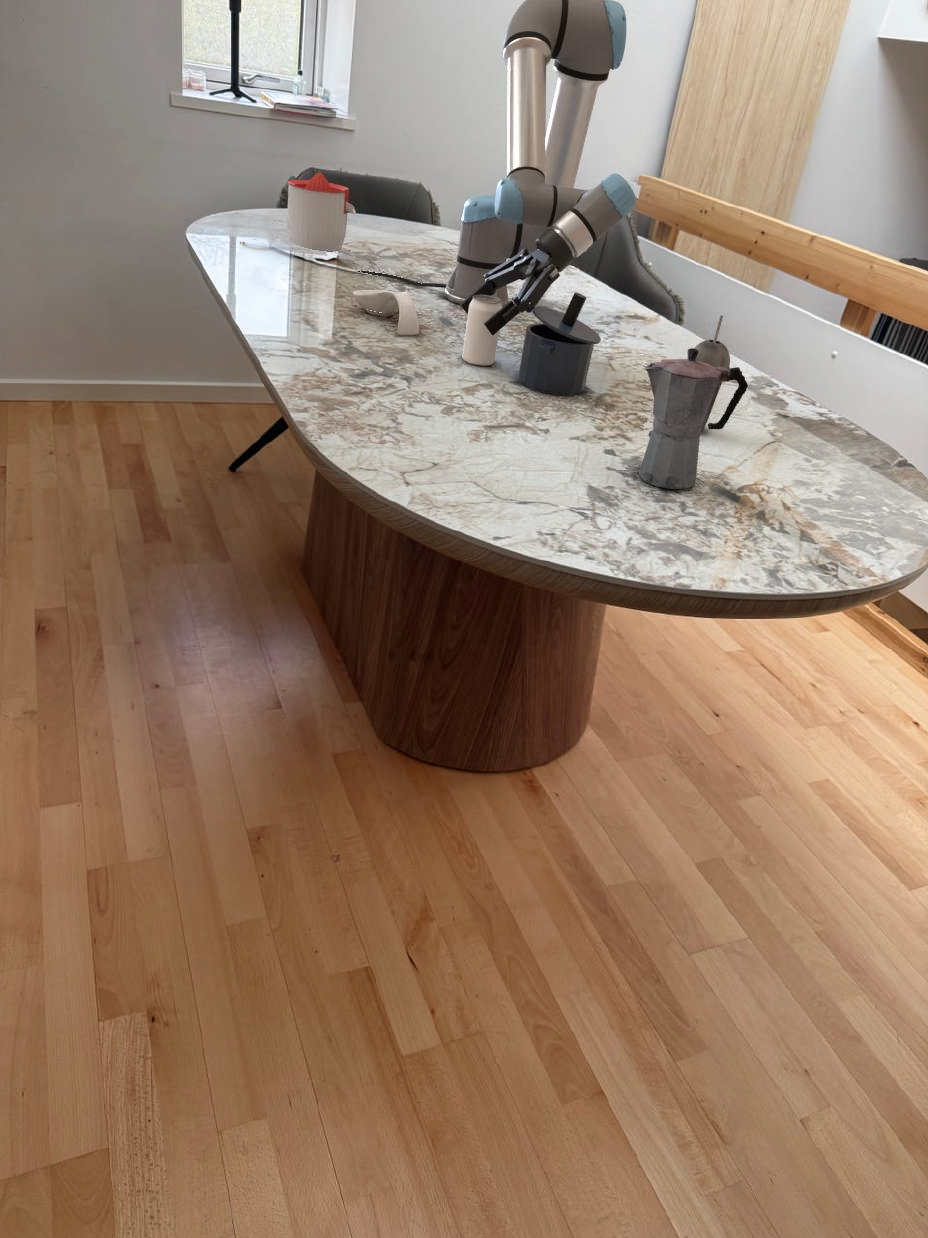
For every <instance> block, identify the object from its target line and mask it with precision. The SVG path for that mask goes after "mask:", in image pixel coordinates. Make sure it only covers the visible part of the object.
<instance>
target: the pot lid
mask: <svg viewBox="0 0 928 1238" xmlns="http://www.w3.org/2000/svg"><path fill="white" fill-rule="evenodd" d="M570 299H571V300H570V302H569V304H568V306H567V308H566V310H565V312H562V311H558V310H556V309H554V308H549V307H546V306H540V305H539V306H537V305H536V306H535V307H534V309H533V310H532V314H533V315H534V317H535V318H536V319H537V320H539V321H540V323H541V324H545V325H546V326H547V327H549V328H550V329H552V330H553V331H555V332H557V333H559V334H561V335H563V336H565V337H567V338H570V339H572V340H575V341H579V342H584V343H588V344H594V345H599V343H600V342H601V340H602V339H601V338H602V337H601V336H600V334H599V333H598V332H597V331H595V329H593V328H591V327H590V326H588V325H587V324H586V323H584V322H582V321H580V320H579V319H578V318H579V316H580V314H581V311H582V309H583V307H584V305H585V303H586V301H587V299H588V298H587V296H586V295H584V294H582V293H580V292H576V291H575V292H574V293H573V295H572V296H571V298H570Z"/></svg>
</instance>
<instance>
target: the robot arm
mask: <svg viewBox="0 0 928 1238" xmlns="http://www.w3.org/2000/svg"><path fill="white" fill-rule="evenodd" d="M626 44H627V16H626V11H625V8H624V6H623V5H622V4H621V3H620V2H618V1H615V0H525V1H523V2H522V3H521V5H520V6H519V7H518V8H517V9H516V10H515V12H514V14H513V15H512V17H511V19H510V20H509V23H508V25H507V27H506V31H505V35H504V39H503V53H502V54H503V56H502V57H503V62H504V65H505V66H506V67H507V71H508V72H507V129H506V130H507V134H506V135H507V142H506V146H507V147H506V178H502V179H500V180H499V181H498V183H497V186H496V189H495V195H478V196H472V197H469V198H468V199H467V200H466V201H465V203H464V205H463V210H462V215H461V218H460V222H461V223H460V231H459V239H458V247H457V255H456V263H455V266H454V268H453V271H452V272H451V274H450V276H449V279H448V282H447V283H437V282H420V281H416V282H415V280H412V279H410V278H406V277H403V278H401V277H402V276H400V277H397V276H398V275H396V276H393V275H394V274H391V275H388V274H389V273H386V274H382V273H383V272H380V273H375V272H376V271H373V272H369V271H370V270H367V271H361V272H363V273H368V274H372V275H371V276H375V275H378V276H377V277H381V276H383V278H386V279H387V278H388V279H393V280H398V281H401V282H404V283H406V284H409V285H413V286H418V287H423V288H441V289H442V288H443V289H445V290H444V297H445V299H447V300H448V301H450V302H452V303H455V304H458V305H460V307H461V308H462V310H463V311H464V312H465V313H466V315H467V316H468V311H469V305H470V303H471V301H472V299H473V296H474V295H488V296H493V297H496V298H499V299H501V300H502V302H501V305H502V308H501V309H500V310H499V311H498V312H497V313H495V314H494V315H493V316H492V317H491V318H490V319H489V320H487V321H486V322H485V323H484V325H485V326H486V328H487V329H488V330H489V332H490V333H491V335H494V334H496V333H497V332H498V331H499V330H502V329H503V328H504V327H505V326H506V325H508V323H509V322H510V321H512V320H513V319H515V317H516V316H518V315H519V314H520V313H524V312H526V313H527V314H530V313H531V312H533V309H534V307H537V305H538V304H539V302H540V301H541V299H542V298H543V297H544V296H545V294H546V293H547V291H548V290H549V288H551V285H553V284H554V282H555V281H557V280H558V279H559V278H560V276H561V274H560V273H562V272H563V271H564V270H565V269H566V268H568V267H569V266H570V265H571V264H572V263H573V262H574V259H575V258H579V257H580V256H581V255H582V254H583V253H586V252H588V249H589V248H590V247H591V246H592V245H593V244H595V243H596V242H597V241H598V240H599V239H600V238H601V237H603V236H604V235H605V234H606V233H607V232H608V231H610V230H611V229H612V228H613V227H615V225H617V224H618V223H619V222H620V221H621V220H622V219H626V217H627V215H628V214H629V213H630V212H631V211H633V209H634V208H635V207H636V205H637V197H636V194H635V192H634V190H633V188H632V186H631V185H630V183H629V181H627V180H626V179H625V178H624V177H623V176H622V175H621V174H619V173H616V172H614V173H611V174H609V175H608V176H607V177H605V178H604V179H602V180H601V181H600V183H599V184H597V185H596V186H595V187H593V188H590V189H581V188H575V183H576V180H577V175H578V171H579V166H580V163H581V160H582V155H583V150H584V146H585V143H586V138H587V134H588V131H589V126H590V122H591V118H592V113H593V110H594V105H595V101H596V97H597V93H598V89H599V87H600V86H601V85H603V84H604V83H606V82H607V81H608V79H609V75H610V72H611V70H612V71H614V70H617V69H619V67H620V66H621V65H622V61H623V59H624V54H625V49H626ZM551 60H554V62H553V63H554V64H553V69H554V71H555V73H556V75H557V77H558V78H557V83H556V89H555V92H554V96H553V97H554V98H553V102H552V107H551V112H550V116H549V117H550V118H549V121H548V125H547V121H546V120H547V66H548V65H549V64H550V62H551ZM546 129H547V130H546ZM358 272H360V271H358ZM363 273H362V274H363ZM368 274H367V275H368ZM405 278H406V279H405ZM519 280H520V281H524V282H523V283H522V285H521V287H520V289H519V291H518V293H517V294H516V296H513V297H511V300H509V293H508V287H507V285H510V284H512V283H514V282H517V281H519ZM418 282H420V283H418ZM421 283H422V284H421ZM508 300H509V301H508ZM499 332H500V331H499Z"/></svg>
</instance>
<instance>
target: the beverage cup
mask: <svg viewBox="0 0 928 1238" xmlns="http://www.w3.org/2000/svg"><path fill="white" fill-rule="evenodd" d="M723 318H724V315H722V314H720V315H719V319H718V322H717V326H716V329H715V332H714V337H713V339H705V340H703V341H701V342H700V343H698V344H696V345H695V347H694V349H697V350H698V351H699V352H698V355H697V357H696V361H699V362H703V363H706V364H709V365H711V366H713V367H715V368H717V367H724V368H728V369H729V368H731V367H730V366H731V354H730V352H729V349H728V347H727V346H726V345H725V344H724V343H723V342H721V341H720V340H718V338H719V337H718V336H719V334H720V330H721V326H722V324H723V323H722V322H723ZM723 382H724V381H720V382H719V383H718V385H717V388H716V391H715V393H714V396H713V399H712V402H711V405H710V408H709V410H708V414H707V416H706V419H705V421H704V423H703V427H702V431H701V433H703V432H704V429H705V428H706V425H707V424H708V421H709V418H710V415H711V412H712V410H713V407H714V405H715V403H716V400H717V397H718V395H719V392H720V389H721V387H722V384H723Z"/></svg>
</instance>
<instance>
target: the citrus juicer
mask: <svg viewBox="0 0 928 1238" xmlns="http://www.w3.org/2000/svg"><path fill="white" fill-rule="evenodd" d="M287 184H288V191H287V192H288V193H287V219H286V221H287V233H288V239H289V242H290V241H292V242H293V243H294V244H296V245H299V246H301V247H304V248H308V249H312V250H319V251H327V252H333V251H339V250H341V251H342V248H343V245H344V242H345V238H346V234H347V233H346V232H347V227H348V213H350V214H353V215H356V213H357V212H356V209H355V206H354V205H353V204H351V203H350V202H349V200H350V195H349V194H350V188H348V187H347V186H344V185H340V184H337V183H333V182H329V181H328V180H327V178H326V176H325V175H324V174H323V173H322V172H320V171H319V172H317V173H316V174H314V175H313V176H312V178H310V179H290V180H287Z"/></svg>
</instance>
